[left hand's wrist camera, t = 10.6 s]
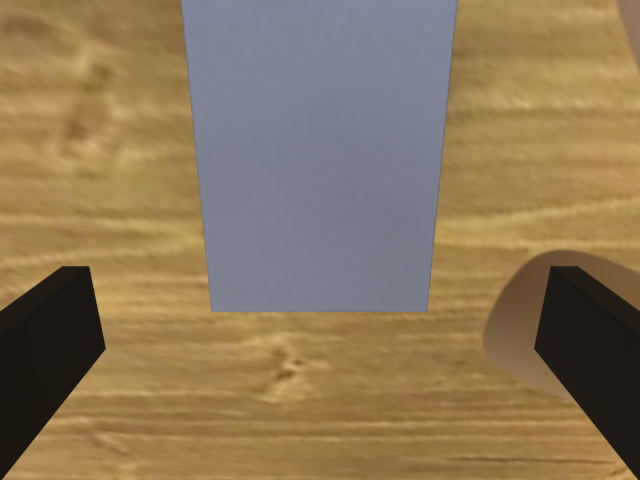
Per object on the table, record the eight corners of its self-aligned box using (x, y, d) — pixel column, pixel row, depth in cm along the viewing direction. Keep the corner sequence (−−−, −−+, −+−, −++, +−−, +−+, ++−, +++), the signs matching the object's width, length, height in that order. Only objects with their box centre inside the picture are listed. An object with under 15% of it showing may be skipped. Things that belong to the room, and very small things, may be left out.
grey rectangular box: (222, -130, 23) (152, -283, 13) (415, -130, 23) (485, -283, 13) (246, 237, 30) (211, 312, 21) (392, 237, 30) (427, 312, 21)
